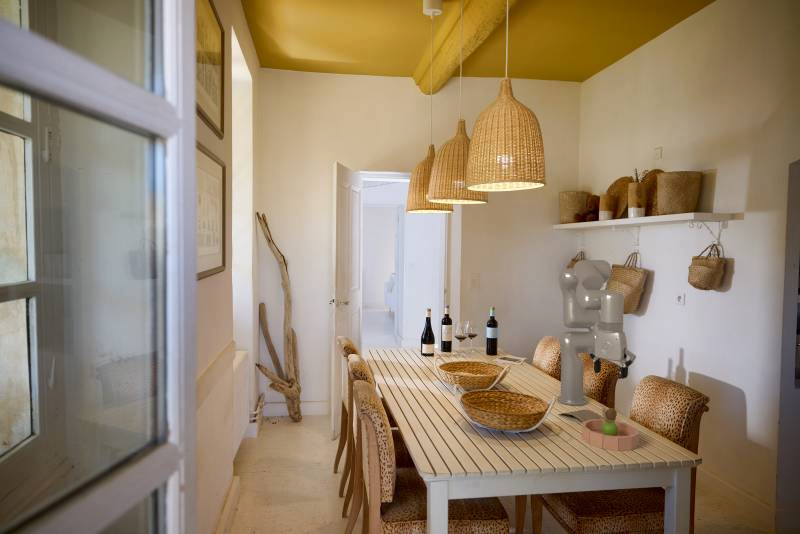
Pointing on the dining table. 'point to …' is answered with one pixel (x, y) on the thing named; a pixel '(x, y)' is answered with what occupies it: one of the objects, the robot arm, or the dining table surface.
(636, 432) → the terracotta bowl
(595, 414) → the clay tablet
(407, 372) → the dining table surface
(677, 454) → the dining table surface
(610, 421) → the snail figurine
